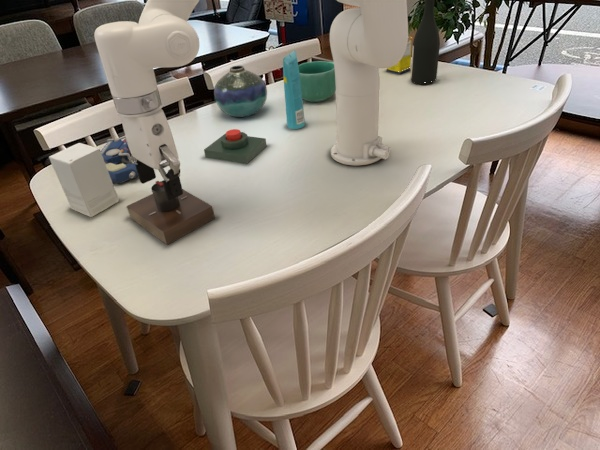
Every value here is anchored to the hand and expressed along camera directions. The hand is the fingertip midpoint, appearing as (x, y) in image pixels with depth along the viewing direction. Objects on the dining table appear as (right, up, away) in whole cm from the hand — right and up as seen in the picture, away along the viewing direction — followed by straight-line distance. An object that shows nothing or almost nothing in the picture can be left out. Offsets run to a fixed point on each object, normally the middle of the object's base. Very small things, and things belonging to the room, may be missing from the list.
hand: (161, 188), depth 87 cm
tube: (+25, +20, +37) cm, 49 cm away
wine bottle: (+66, +39, +59) cm, 97 cm away
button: (+10, +14, +25) cm, 30 cm away
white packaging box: (-18, -3, +11) cm, 21 cm away
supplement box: (+60, +46, +69) cm, 103 cm away
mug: (+33, +33, +55) cm, 72 cm away
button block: (+11, +11, +27) cm, 31 cm away
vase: (+10, +26, +48) cm, 56 cm away
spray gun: (-16, +8, +26) cm, 31 cm away
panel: (+1, -6, +4) cm, 7 cm away
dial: (+1, -3, +3) cm, 4 cm away
